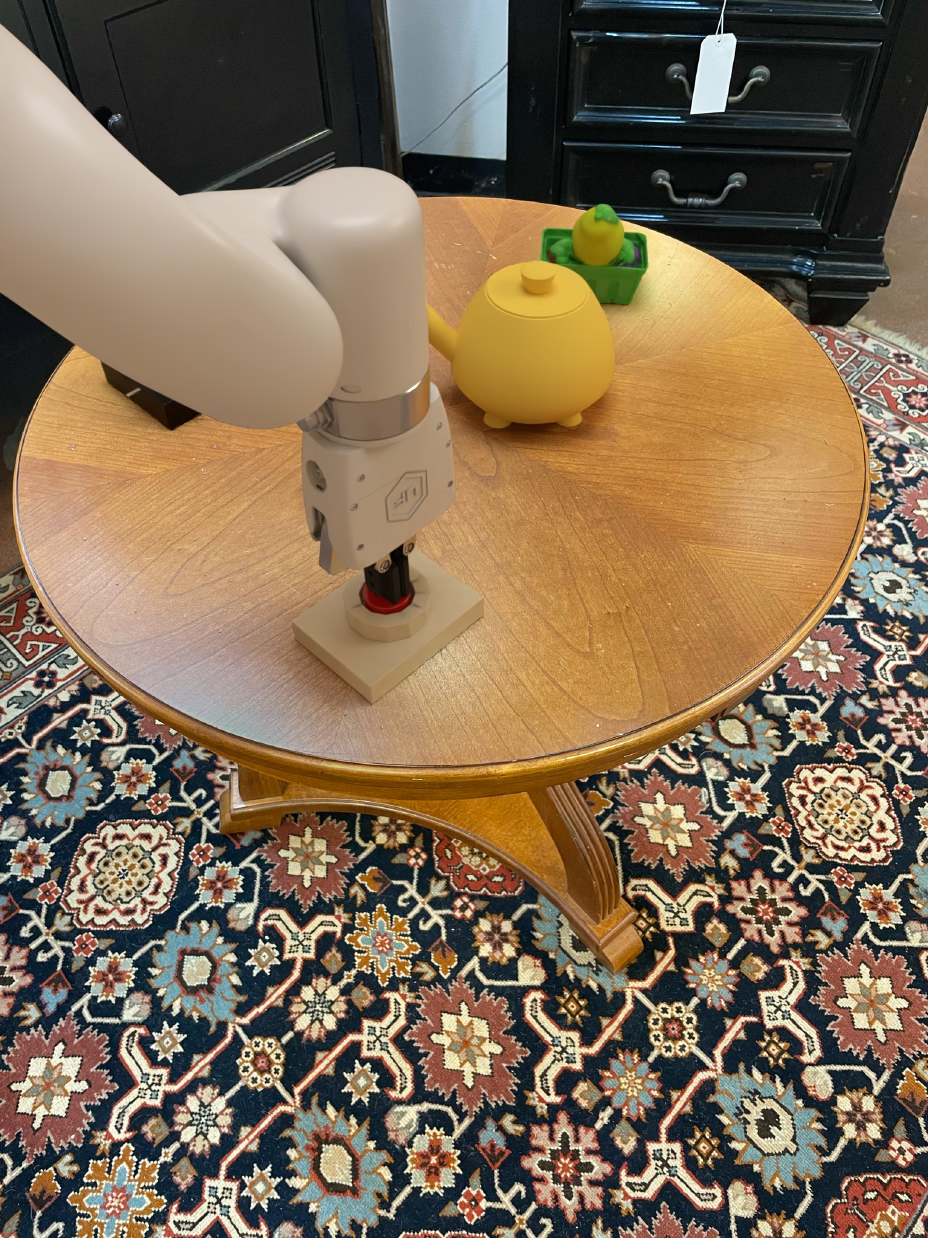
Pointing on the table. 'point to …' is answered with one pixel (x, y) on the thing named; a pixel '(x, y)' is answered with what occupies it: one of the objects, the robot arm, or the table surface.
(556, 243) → the fruit basket
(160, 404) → the panel
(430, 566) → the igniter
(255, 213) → the robot arm
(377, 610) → the button
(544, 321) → the teapot
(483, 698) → the table surface
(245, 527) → the table surface
